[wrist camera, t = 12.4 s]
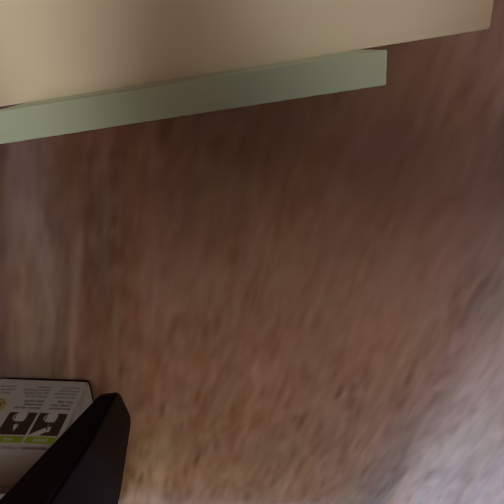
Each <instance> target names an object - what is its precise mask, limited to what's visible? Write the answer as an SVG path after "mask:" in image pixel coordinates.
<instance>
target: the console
mask: <svg viewBox="0 0 504 504" xmlns="http://www.w3.org/2000/svg"><path fill="white" fill-rule="evenodd" d="M493 2H494V0H0V107H1V106H7V105H13V104H20V103H24V104H20V105H16V106H12V107H8V108H4V109H0V144H3V143H10V142H16V141H23V140H29V139H36V138H42V137H49V136H56V135H62V134H69V133H75V132H82V131H88V130H95V129H101V128H108V127H114V126H121V125H127V124H134V123H140V122H147V121H153V120H160V119H166V118H173V117H179V116H186V115H193V114H199V113H206V112H212V111H219V110H225V109H232V108H238V107H245V106H251V105H258V104H264V103H271V102H277V101H284V100H290V99H297V98H303V97H310V96H317V95H323V94H330V93H336V92H343V91H349V90H356V89H362V88H369V87H375V86H382V85H386V70H387V50H359V49H365V48H372V47H378V46H384V45H390V44H397V43H403V42H409V41H416V40H422V39H428V38H434V37H441V36H447V35H453V34H460V33H466V32H472V31H478V30H485V29H490V23H491V16H492V9H493ZM26 102H28V103H26Z"/></svg>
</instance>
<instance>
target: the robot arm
mask: <svg viewBox="0 0 504 504" xmlns="http://www.w3.org/2000/svg"><path fill="white" fill-rule="evenodd" d="M129 431H130V415H129V413H128V410H127V408H126V406H125V404H124V402H123V399H122V397H121V395H120V394H119V393H107V394H102V395H100V396H98V397H97V398H96V399H95V400H94V401H93V402H92V403H91V404H90V406H89V407H88V408H87V409H86V410H85V411H84V412H83V413H82V414H81V415H80V416H79V417H78V418H77V419H76V420H75V421H74V422H73V423H72V424H71V425H70V427H69V428H68V429H67V430H66V431H65V432H64V433H63V434H62V435H61V436H60V437H59V438H58V439H57V440H56V441H55V442H54V443H53V444H52V445H51V447H50V448H49V449H48V450H47V451H46V452H45V453H44V454H43V455H42V456H41V457H40V458H39V459H38V460H37V461H36V462H35V463H34V464H33V465H32V466H31V468H30V469H29V470H28V471H27V472H26V473H25V474H24V475H23V476H22V477H21V478H20V479H19V480H18V481H17V482H16V483H15V484H14V485H13V486H12V487H11V489H10V490H9V491H8V492H7V493H6V494H5V495H4V496H3V497H2V498H1V499H0V504H118V501H119V496H120V491H121V485H122V478H123V472H124V465H125V458H126V452H127V445H128V438H129Z"/></svg>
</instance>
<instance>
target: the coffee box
mask: <svg viewBox="0 0 504 504" xmlns="http://www.w3.org/2000/svg"><path fill="white" fill-rule="evenodd" d="M92 402H93V400H92V396H91V392H90V388H89V384H88V383H87V382H74V381H46V380H20V379H0V499H1V498H2V497H3V496H4V495H5V494H6V493H7V492H8V491H9V490H10V489H11V487H12V486H13V485H14V484H15V483H16V482H17V481H18V480H19V479H20V478H21V477H22V476H23V475H24V474H25V473H26V472H27V471H28V470H29V469H30V468H31V466H32V465H33V464H34V463H35V462H36V461H37V460H38V459H39V458H40V457H41V456H42V455H43V454H44V453H45V452H46V451H47V450H48V449H49V448H50V447H51V445H52V444H53V443H54V442H55V441H56V440H57V439H58V438H59V437H60V436H61V435H62V434H63V433H64V432H65V431H66V430H67V429H68V428H69V427H70V425H71V424H72V423H73V422H74V421H75V420H76V419H77V418H78V417H79V416H80V415H81V414H82V413H83V412H84V411H85V410H86V409H87V408H88V407H89V406H90V404H91V403H92Z"/></svg>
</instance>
